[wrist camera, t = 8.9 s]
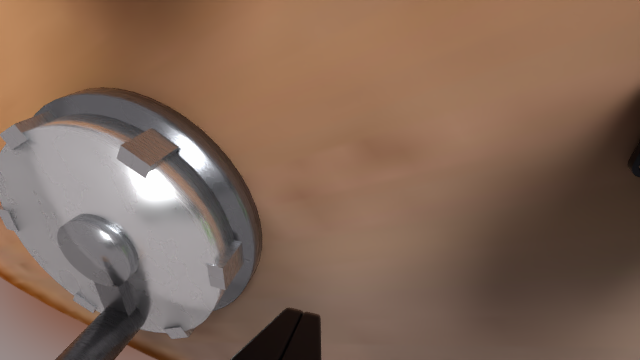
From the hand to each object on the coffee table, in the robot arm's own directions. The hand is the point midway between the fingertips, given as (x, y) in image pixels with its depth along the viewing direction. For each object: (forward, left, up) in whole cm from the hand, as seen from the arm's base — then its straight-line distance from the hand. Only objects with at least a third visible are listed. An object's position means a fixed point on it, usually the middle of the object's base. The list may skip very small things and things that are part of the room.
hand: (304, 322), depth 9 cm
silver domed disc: (+16, +9, -10) cm, 21 cm away
